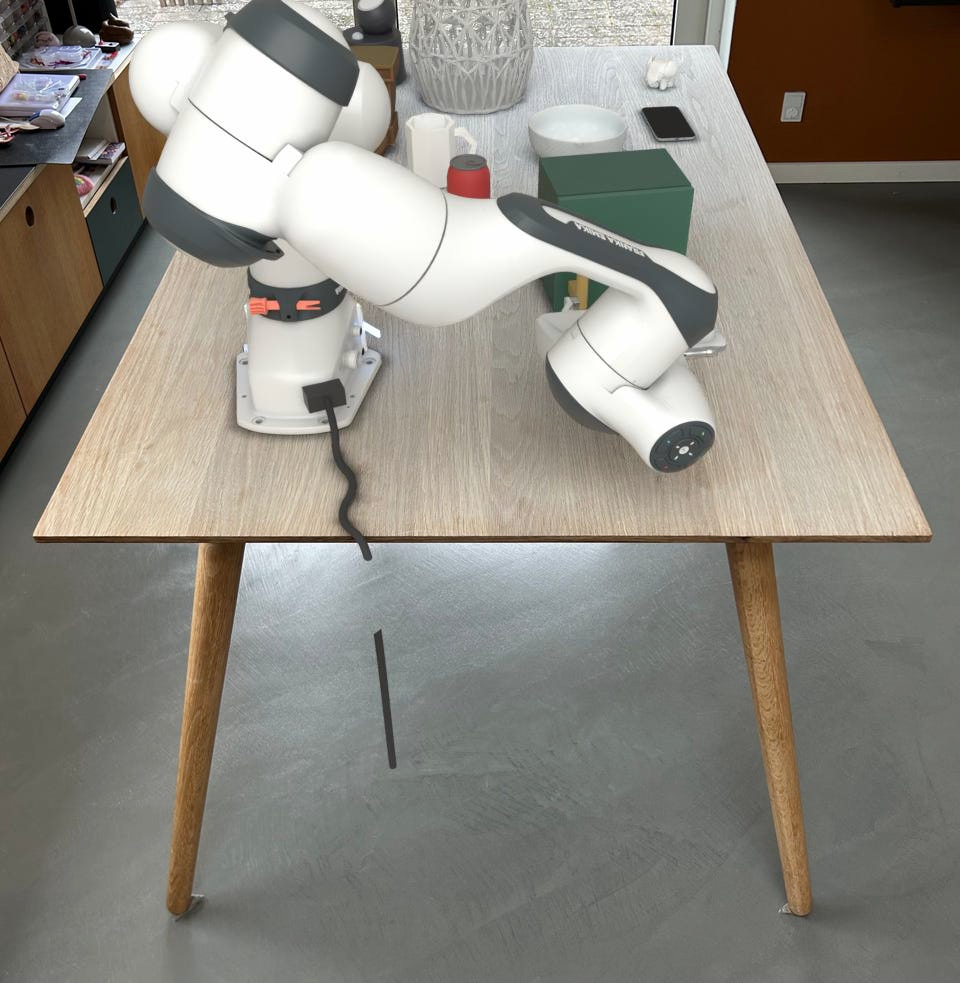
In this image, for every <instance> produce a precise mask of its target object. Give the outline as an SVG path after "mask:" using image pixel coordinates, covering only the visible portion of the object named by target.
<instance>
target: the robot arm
mask: <svg viewBox="0 0 960 983" xmlns="http://www.w3.org/2000/svg"><path fill="white" fill-rule="evenodd" d="M223 18H224V19H225V21H226V24H225V25H221V24H218V23H216V22H215V23H214V22H210V21H203V20H196V19H195V20H192V19H191V20H189V19H188V20H177V21H176V20H175V21H170V22H167V23H163V24H160V25H158V26H156V27H154V28H153V29H151V30H150V31H148V32H147V33H145V35H143V37H141V39H140V40H139V42H138V43H137V45H136V46H135V48H134V49H133V52H132V55H131V57H130V61H129V66H128V86H129V90H130V94H131V97H132V100H133V102H134V104H135V106H136V109H138V111H139V113H140V114H141V115H142V116H143V118H144V120H146V122H148V123H149V124H150V125H151V126H152V127H153V128H154V129H156V130H157V131H158V132H159V133H161V134H162V135H164V136H165V137H166V142H165V144H164V147H163V149H162V151H161V154H160V156H159V159H158V162H157V165H156V166H151V168H150V170H149V173H148V176H147V178H146V182H145V185H144V188H143V193H142V200H141V208H142V209H143V212H144V215H145V217H146V220H147V222H148V223H149V224H150V226H151V227H152V228H153V229H154V230H155V231H156V232H157V233H158V234H159V235H160V236H161V237H162V238H163V239H164V240H165V242H166V243H168V244H169V245H170V246H171V247H173V248H174V250H176V251H177V252H179V253H180V254H183V255H184V256H185V257H188V258H190V259H193V260H195V261H197V262H201V263H203V264H208V265H211V266H213V267H217V268H221V269H233V268H241V267H242V268H243V267H247V269H246V275H247V276H246V287H247V293H248V300H247V302H246V303H245V304H244V305H243V308H244V313H245V317H246V332H247V333H246V339H247V341H246V342H247V343H243V344H242V352H240V353H239V354H237V356H236V423H237V425H238V426H239V427H241V428H242V429H245V430H249V431H252V432H255V433H261V434H268V435H284V436H285V435H288V436H289V435H291V436H292V435H294V436H295V435H296V436H297V435H314V434H323V433H329V432H330V442H331V452H332V456H333V459H334V462H335V464H336V466H337V468H338V469H339V470H340V471H341V472H342V473H343V475H344V476H345V477H346V479H347V481H348V488H347V490H346V493H345V495H344V497H343V499H342V500H341V503H340V506H339V508H338V519H339V523H340V526H341V528H342V529H344V531H345V532H346V533H348V534H349V535H350V536H351V537H352V538H353V539H354V540H355V542H356V543H357V545H358V547H359V549H360V552H361V555H362V558H363V560H364V561H366V562H371V561H372V560H373V554H372V551H371V548H370V546H369V544H368V541H367V539H366V537H365V536H364V535H363V533H361V531H360V530H358V528H356V527H355V526H354V525H353V523H351V521H350V520H349V518H348V512H349V511H348V510H349V508H350V506H351V504H352V502H353V500H354V498H355V496H356V494H357V491H358V490H357V489H358V480H357V477H356V474H355V473H354V472H353V470H352V469H351V468H350V467H349V466H348V465H347V463H346V462H345V460H344V458H343V456H342V453H341V452H342V451H341V444H340V433H339V430H340V429H344V428H345V427H348V426H350V425H351V424H352V422H353V420H354V418H355V416H356V414H357V412H358V410H359V409H360V406H361V405H362V402H364V399H365V398H366V395H367V393H368V391H369V390H370V387H371V385H372V383H373V381H374V379H375V377H376V376H377V373H378V371H379V370H380V368H381V367H382V366H381V365H382V364H383V361H382V356H381V354H380V353H379V352H378V351H375V350H373V349H371V348H369V347H368V342H367V335H366V332H368V333H369V334H370V335H373V336H374V337H376V338H378V339H379V338H381V331H380V330H379V329H378V328H376V327H374V326H372V325H371V324H369V323H367V322H365V321H364V314H363V308H362V305H361V304H360V303H359V302H358V301H357V300H356V299H355V298H354V297H353V296H352V295H351V294H350V293H349V292H351V293H352V294H353V295H355V296H357V297H359V298H361V299H363V300H364V301H366V302H368V303H369V304H372V305H374V306H375V307H376V308H379V309H380V310H382V311H384V312H386V313H388V314H389V315H392V316H394V317H396V318H398V319H401V320H402V321H406V322H408V323H411V324H414V325H418V326H424V327H429V328H439V327H449V326H451V325H452V326H453V325H455V324H459V323H461V322H465V321H468V320H469V319H472V318H474V317H476V316H478V315H480V314H481V313H482V312H485V311H486V310H487V309H489V308H490V307H491V306H493V305H495V304H497V302H500V300H502V299H504V298H505V297H507V296H508V295H510V294H512V293H513V292H515V291H517V290H518V289H520V288H522V287H524V286H525V285H528V284H530V283H532V282H534V281H536V280H538V279H540V277H543V276H546V275H549V274H552V273H557V272H573V273H576V274H579V275H582V276H584V277H587V278H589V279H592V280H594V281H597V282H599V283H602V284H605V285H607V286H610V287H609V288H608V289H607V290H606V291H605V292H604V293H603V294H602V295H601V296H600V297H599V298H598V299H597V300H596V301H595V303H594V304H593V305H592V306H591V307H590V308H589V309H587V310H579V307H580V302H579V299H578V297H577V296H573V297H565V298H564V308H563V309H562V312H554V311H553V312H544V313H540V314H539V315H538V317H536V319H535V321H534V344H535V346H536V349H537V351H538V353H539V354H538V355H539V356H540V358H541V360H542V361H543V363H544V366H545V374H546V380H547V384H548V387H549V389H550V392H551V394H552V396H553V398H554V400H555V401H556V402H557V404H558V405H559V407H560V408H561V410H563V411H564V413H565V414H566V415H567V416H568V417H570V418H571V419H572V420H573V421H575V422H576V423H577V424H579V425H580V426H583V427H584V428H586V429H589V430H591V431H593V432H597V433H602V434H607V435H612V436H621V437H623V438H624V439H625V440H626V442H628V443H629V444H630V445H631V447H632V448H633V449H634V450H635V452H636V453H637V455H639V457H640V458H641V460H642V461H643V462H644V464H646V465H647V466H648V467H649V468H651V469H652V470H654V471H655V472H657V473H662V474H672V473H678V472H681V471H684V470H686V469H688V468H691V467H692V466H693V465H695V464H696V463H697V462H698V461H700V460H701V459H703V457H705V455H706V454H707V453H709V451H710V450H711V449H712V448H713V446H714V444H715V441H716V437H717V424H716V420H715V416H714V413H713V410H712V408H711V404H710V401H709V400H708V397H707V395H706V393H705V391H704V389H703V387H702V384H701V383H700V382H699V380H698V378H697V377H696V375H695V374H694V372H692V371H691V370H690V368H689V363H688V361H687V360H697V359H704V358H713V357H714V358H715V357H717V356H718V354H719V353H722V352H724V351H725V350H726V348H727V346H728V344H727V341H726V339H725V338H724V336H723V334H722V333H721V332H719V331H717V330H716V323H717V316H718V311H719V310H718V309H719V291H718V288H717V286H716V284H715V283H714V282H713V281H712V279H711V278H710V276H709V275H708V274H707V273H706V271H705V270H704V269H703V268H702V267H701V266H700V265H699V264H698V263H696V262H695V261H694V260H692V259H691V258H689V257H688V256H687V255H686V256H684V255H682V254H680V253H677V252H675V251H673V250H671V249H669V248H666V247H662V246H658V245H653V244H649V243H646V242H643V241H640V240H637V239H635V238H633V237H630V236H628V235H625V234H623V233H621V232H619V231H616V230H614V229H612V228H610V227H607V226H605V225H603V224H600V223H598V222H596V221H593V220H591V219H589V218H587V217H584V216H582V215H580V214H577V213H575V212H573V211H570V210H568V209H565V208H563V207H560V206H558V205H555V204H553V203H550V202H548V201H545V200H542V199H539V198H538V197H536V196H533V195H530V194H525V193H523V192H518V191H517V192H516V191H513V192H510V193H507V194H504V195H501V196H498V197H493V198H490V199H474V198H466V197H461V196H457V195H453V194H451V193H448V192H447V190H444V189H442V188H439V187H437V186H436V185H434V184H432V183H431V182H429V181H428V180H426V179H424V178H423V177H421V176H420V175H418V174H416V173H414V172H412V171H411V170H409V169H408V167H405V166H403V165H402V164H399V163H398V162H395V161H393V160H391V159H389V158H387V157H385V156H383V155H381V156H380V155H378V154H375V153H373V152H374V151H375V150H376V149H377V148H378V147H379V145H380V144H381V143H382V141H383V139H384V137H385V135H386V133H387V130H388V127H389V123H390V117H391V104H390V98H389V93H388V90H387V88H386V85H385V83H384V81H383V79H382V78H381V76H380V75H379V73H378V72H377V71H376V69H375V68H374V67H373V66H372V65H371V64H369V63H365V62H361V61H357V58H356V54H355V53H354V52H352V51H351V50H350V48H349V46H348V44H347V42H346V40H345V38H344V37H343V35H342V34H341V32H340V31H339V30H338V29H337V27H338V26H336V24H334V23H333V22H332V20H331V19H329V18H328V17H327V16H326V15H325V14H323V13H322V12H321V11H319V10H317V9H316V8H314V7H312V6H310V5H308V4H306V3H303V2H300V1H298V0H250V1H249V2H248V3H246V4H244V6H243V7H241V8H240V9H239V10H238V11H237V12H236V13H234V12H232V11H228V12H227V13H226V14H224V15H223ZM382 630H383V629H382V628H380V629H379V630H377V631H376V632H375V633H373V641H374V648H375V649H374V650H375V656H376V664H377V671H378V672H377V673H378V680H379V690H380V698H381V706H382V715H383V716H382V717H383V724H384V734H385V742H386V751H387V758H388V768H389V769H391V770H395V769H397V766H398V764H397V754H396V747H395V739H394V738H395V737H394V728H393V718H392V717H393V716H392V709H391V708H392V707H391V699H390V688H389V682H388V681H389V680H388V671H387V663H386V654H385V645H384V639H383V638H384V637H383V631H382Z"/></svg>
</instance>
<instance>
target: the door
mask: <svg viewBox="0 0 960 983" xmlns="http://www.w3.org/2000/svg"><path fill="white" fill-rule="evenodd" d="M694 195H695V188H694V187H693V185H691V186H686V187H674V188H661V189H649V190H637V191H624V192H612V193H600V194H588V195H575V196H563V197H558V200H557V205H558V206H560V207H563V208H565V209H568V210H570V211H573V212H575V213H577V214H580V215H582V216H584V217H587V218H589V219H591V220H593V221H596V222H598V223H600V224H603V225H605V226H607V227H610V228H612V229H614V230H616V231H619V232H621V233H623V234H625V235H628V236H630V237H633V238H635V239H637V240H640V241H643V242H646V243H649V244H653V245H658V246H662V247H666V248H669V249H671V250H673V251H675V252H677V253H680V254H682V255H684V256H686V257H687V251H688V241H689V234H690V226H691V219H692V212H693V211H692V210H693V203H694ZM609 287H610V286H607V285H605V284H602V283H599V282H597V281H594V280H592V279H589V278H587V277H584V276H582V275H579V274H576V273H573V272H557V273H555V279H554V305H553V308H552V311H553V313H554V312H562V309H563V308H564V298H565V297H573V296H577V297H578V299H579V302H580V307H579V310H587V309H589V308H590V307H591V306H592V305H593V304H594V303H595V301H596V300H597V299H598V298H599V297H600V296H601V295H602V294H603V293H604V292H605V291H606V290H607V289H608V288H609Z"/></svg>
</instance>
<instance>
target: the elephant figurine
mask: <svg viewBox="0 0 960 983" xmlns="http://www.w3.org/2000/svg"><path fill="white" fill-rule="evenodd" d="M678 68H679V67H678V64H677V62H676V61H675V60H666V59H663V58H656V54H652V55H651V56H650V57H649V59H648V60H647V61H646V64H645V70H646V71H647V74H646V77H645V81H646V82H647V83H648V86H649V87H650V88H655V89H658V88H659V90H660V91H664V90H666V89H667V88H672V87H673V85H674V82H675V79H676V76H677V74H678Z"/></svg>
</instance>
